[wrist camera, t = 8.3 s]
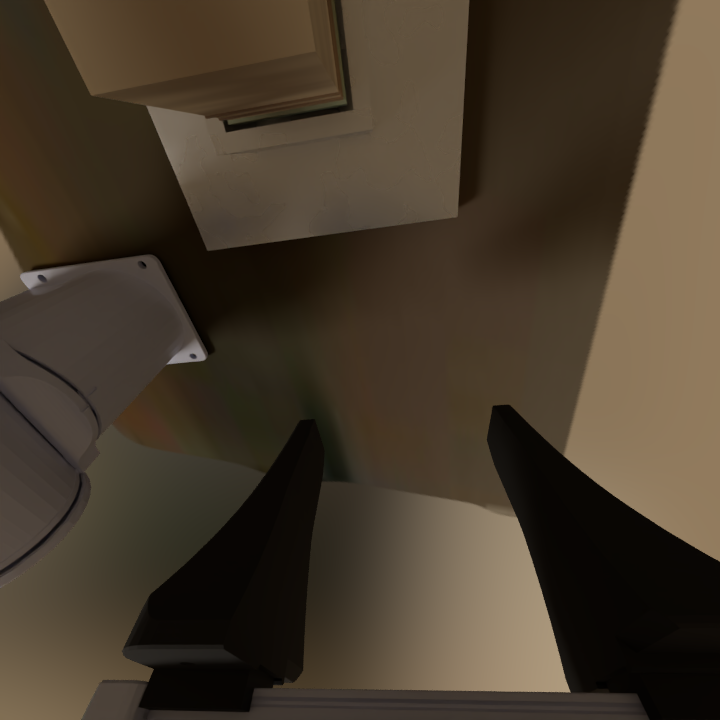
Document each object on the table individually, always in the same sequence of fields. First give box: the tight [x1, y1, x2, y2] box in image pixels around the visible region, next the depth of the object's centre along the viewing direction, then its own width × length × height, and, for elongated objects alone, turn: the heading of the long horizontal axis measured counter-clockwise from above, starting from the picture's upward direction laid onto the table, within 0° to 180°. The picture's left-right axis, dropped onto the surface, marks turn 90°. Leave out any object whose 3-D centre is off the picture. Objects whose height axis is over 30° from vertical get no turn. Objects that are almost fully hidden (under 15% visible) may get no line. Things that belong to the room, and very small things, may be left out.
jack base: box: [146, 0, 469, 251], centre depth 11 cm, size 14×14×6 cm
